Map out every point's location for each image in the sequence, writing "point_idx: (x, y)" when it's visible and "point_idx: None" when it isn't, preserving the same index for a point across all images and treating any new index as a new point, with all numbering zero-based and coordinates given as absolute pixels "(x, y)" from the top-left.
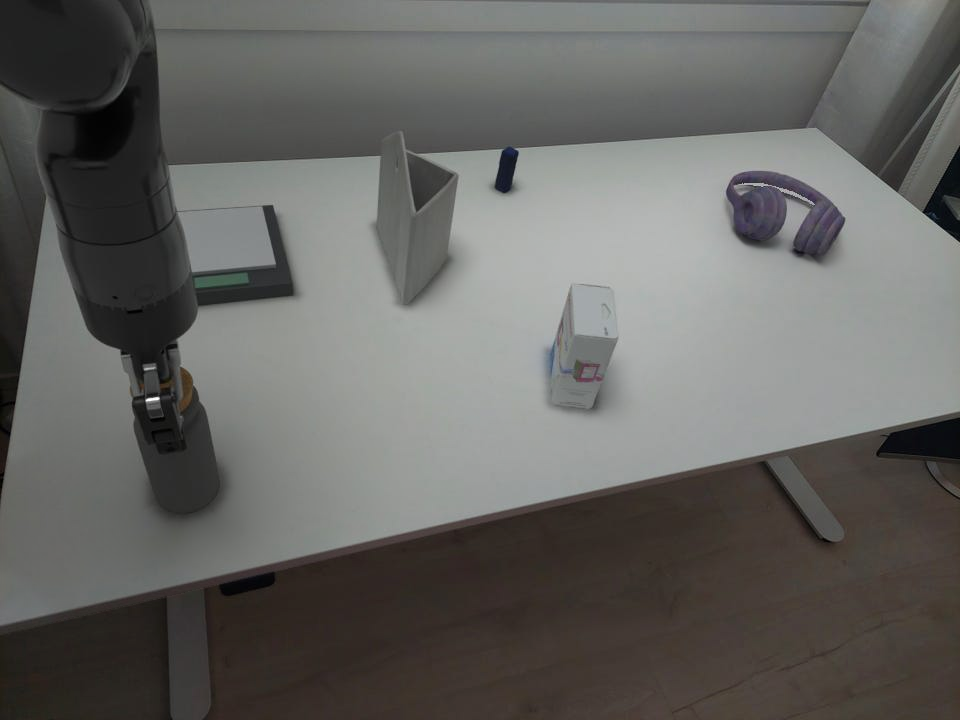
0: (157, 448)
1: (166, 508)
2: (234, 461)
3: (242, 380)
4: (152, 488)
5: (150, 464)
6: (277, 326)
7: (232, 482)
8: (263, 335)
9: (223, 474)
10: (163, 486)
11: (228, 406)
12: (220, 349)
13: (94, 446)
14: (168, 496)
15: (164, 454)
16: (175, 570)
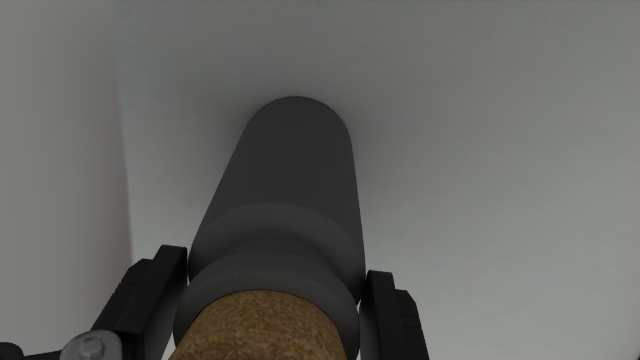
0: (154, 258)
1: (257, 112)
2: None
3: (487, 271)
4: (280, 111)
5: (236, 169)
6: (575, 340)
7: None
8: (568, 319)
9: None
10: (237, 149)
11: (442, 240)
12: (579, 258)
13: (464, 8)
14: (241, 138)
15: (136, 265)
16: (139, 97)
